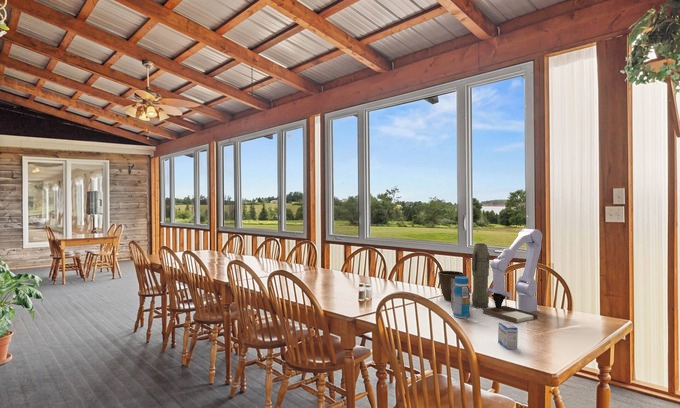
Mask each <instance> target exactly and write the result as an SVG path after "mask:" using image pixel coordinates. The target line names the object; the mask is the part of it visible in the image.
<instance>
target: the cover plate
mask: <svg viewBox="0 0 680 408" xmlns="http://www.w3.org/2000/svg"><path fill="white" fill-rule="evenodd" d="M503 315H507V316H510V317H513V318H517V322H521V321H526V320H531V319H533V316H532V315H528V314H524V313H521V312H517V311H514V312H509V313H503ZM531 321H532V320H531ZM526 322H527V321H526ZM521 323H522V322H521Z"/></svg>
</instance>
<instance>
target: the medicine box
mask: <svg viewBox="0 0 680 408" xmlns="http://www.w3.org/2000/svg"><path fill="white" fill-rule="evenodd" d="M518 329H519V328H518V327H517V326H515V325H513V324H511V322H509V321H499V322H498V329H497V330H498V331H497V333H498V334H497V336H498V337H497V343H498V344H499V343H500V344H499V345H500V346H502V347H503V348H505V349H506V350H517V349H518V341H519V340H518V334H519V333H518V332H519V331H518Z"/></svg>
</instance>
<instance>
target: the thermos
mask: <svg viewBox="0 0 680 408" xmlns="http://www.w3.org/2000/svg"><path fill="white" fill-rule="evenodd" d="M488 250H489V249H488V246H487V244H486V243H479V242H477V243H474V247H473V252H472V253H471V271H472V272H471V273H472V294H471V303H472V304H471V306H472V308H475V309H482V310H483V309H486V308H489V302H490V295H489V292H486V288H489V276H490V252H489V251H488Z"/></svg>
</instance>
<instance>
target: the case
mask: <svg viewBox="0 0 680 408" xmlns="http://www.w3.org/2000/svg"><path fill="white" fill-rule="evenodd" d="M514 311H517V312H521V313H524V314H528V315H532V316H533V319H531V320H526V321H521V322H517V318H513V317H510V316H507V315H503V313H509V312H514ZM482 314H484V315H488V316H490V317H494V318H497V319H499V320H503V321H505V322H508V323H513V324H520V323H525V322H530V321H531V322H532V321H534V320H538V319H539V318H538V317H539V315H538V314H537V313H533V312H527V311H523V310H519V309H518V308H514V307H511V306H507V305H502V306H501V309H497V308H496V306H494V307H493V306H492V307H488V308H484V309H483V308H482Z"/></svg>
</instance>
